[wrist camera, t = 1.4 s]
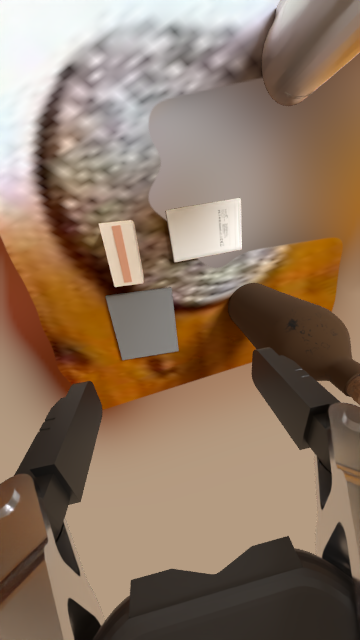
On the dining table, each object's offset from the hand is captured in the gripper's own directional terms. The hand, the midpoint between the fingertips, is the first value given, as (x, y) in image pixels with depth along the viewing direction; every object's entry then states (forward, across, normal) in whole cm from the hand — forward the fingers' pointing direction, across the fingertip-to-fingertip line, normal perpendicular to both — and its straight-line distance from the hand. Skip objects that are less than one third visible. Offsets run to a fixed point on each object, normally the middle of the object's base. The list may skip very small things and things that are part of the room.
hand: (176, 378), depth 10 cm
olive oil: (+28, -18, +10) cm, 35 cm away
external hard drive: (+29, -10, -6) cm, 31 cm away
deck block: (+28, +4, -4) cm, 29 cm away
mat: (+28, +4, +10) cm, 30 cm away
